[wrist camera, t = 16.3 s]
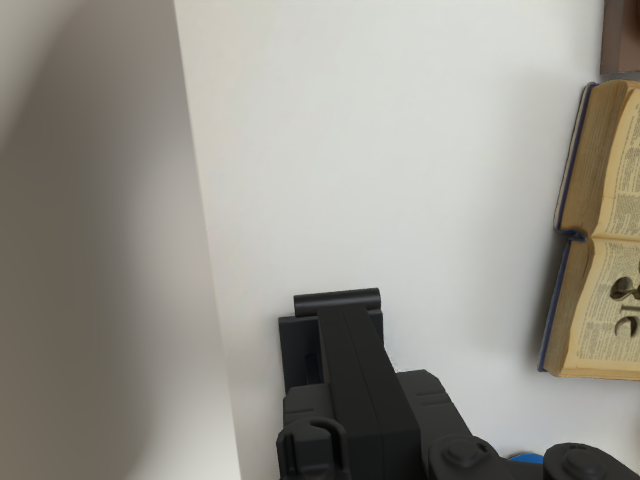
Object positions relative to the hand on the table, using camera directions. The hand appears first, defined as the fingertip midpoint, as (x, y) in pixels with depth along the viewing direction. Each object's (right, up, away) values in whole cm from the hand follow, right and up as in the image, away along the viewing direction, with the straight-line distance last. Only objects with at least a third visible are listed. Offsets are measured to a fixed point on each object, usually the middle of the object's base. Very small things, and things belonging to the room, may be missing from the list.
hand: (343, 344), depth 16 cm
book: (+28, +4, +28) cm, 40 cm away
